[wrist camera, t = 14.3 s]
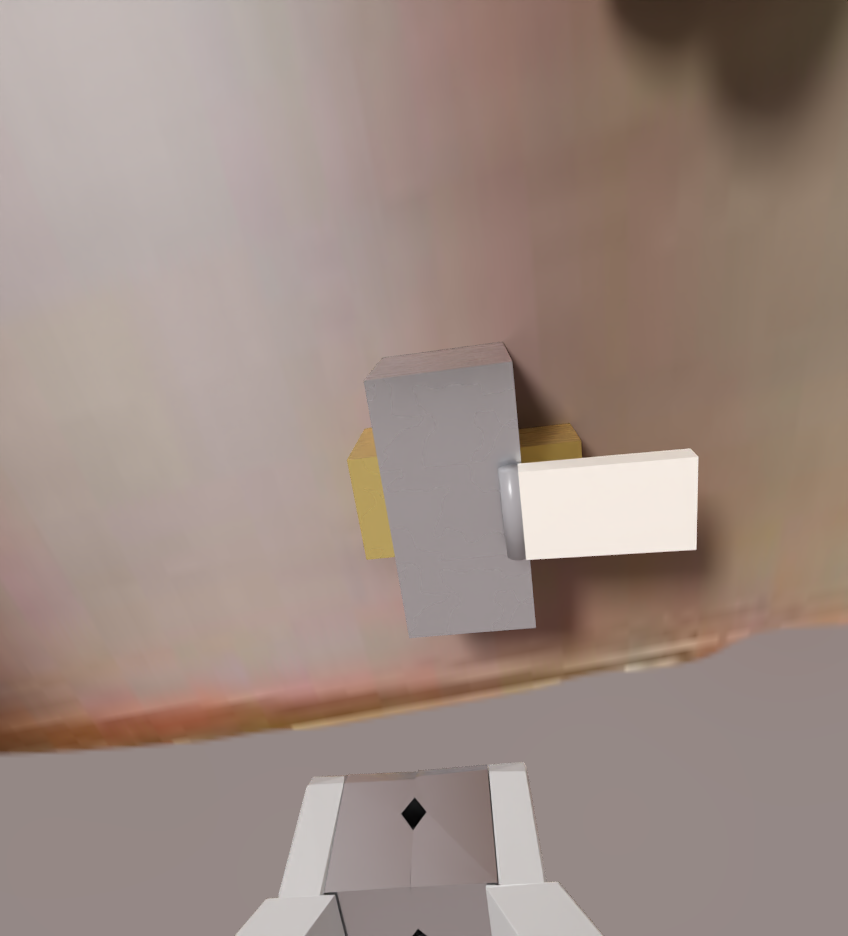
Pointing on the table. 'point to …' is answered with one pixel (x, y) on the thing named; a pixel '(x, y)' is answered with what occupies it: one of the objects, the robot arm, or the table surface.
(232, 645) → the table surface
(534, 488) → the bar
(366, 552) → the lynch pin
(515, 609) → the block
